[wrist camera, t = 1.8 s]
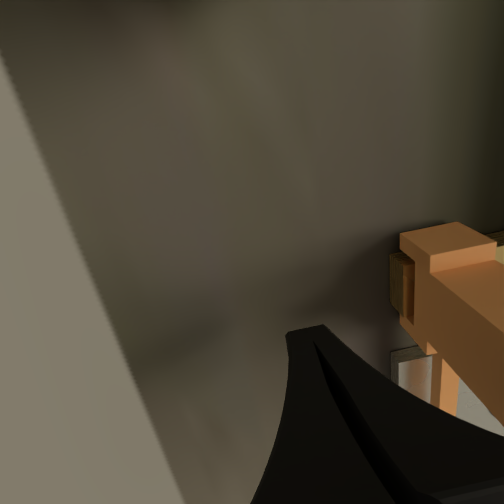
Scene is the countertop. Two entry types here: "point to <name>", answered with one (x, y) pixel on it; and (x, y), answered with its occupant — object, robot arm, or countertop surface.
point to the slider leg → (458, 313)
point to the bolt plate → (419, 384)
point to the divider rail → (405, 276)
